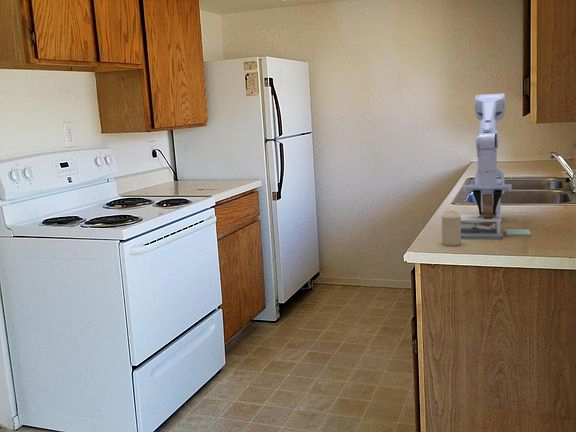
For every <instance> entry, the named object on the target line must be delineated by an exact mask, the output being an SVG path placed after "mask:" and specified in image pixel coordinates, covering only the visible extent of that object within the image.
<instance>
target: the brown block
mask: <svg viewBox="0 0 576 432" xmlns="http://www.w3.org/2000/svg"><path fill="white" fill-rule="evenodd" d="M482 198H483V212H482V214H480V217H484V219H493V217H492V216H497V214H496V212H495V214H493V195H492V194H482ZM483 223H484V225H490V226H494V225H493V223H494V222H483Z"/></svg>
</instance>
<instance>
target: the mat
mask: <svg viewBox="0 0 576 432" xmlns="http://www.w3.org/2000/svg"><path fill="white" fill-rule="evenodd" d="M505 234H506V236H507V237H532V234H531V231H530V229H528V228H527V229H526V228H525V229H522V228H521V229H516V228H515V229H508V228H507V229H505Z"/></svg>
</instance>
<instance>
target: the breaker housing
mask: <svg viewBox="0 0 576 432" xmlns="http://www.w3.org/2000/svg"><path fill="white" fill-rule="evenodd" d="M459 215H460V216H461V222H476V223H484V222H493V223H495V226H490V229H481V228H473V227H464V226H461V240H462V239H463V240H464V239H465V240H467V239H469V240H472V239H473V240H476V239H477V240H480V239H481V240H503V239H504V238H503V236H504V235H503V231H502V226H501V224H502V222H501V220H500V216H501V215H500V216H499V215H497V216H492V217H493V218H495V219H479V218H484V217H480V215H479V214H469V215H468V214H459Z"/></svg>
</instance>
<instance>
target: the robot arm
mask: <svg viewBox="0 0 576 432" xmlns="http://www.w3.org/2000/svg"><path fill="white" fill-rule="evenodd" d="M474 111H475V116H476V119H477V120H479V123H478V130H477V131H478V132H477V133H478V134H477V135H476V136H475V149H476V157H477V171H476V173H475V179H474V184H463V185H462V191H463V193H464V192H465V193H467V192H472V196H473V197H474V200H475V201H476V205H477V209H478V215H480V214H482V212H483V198H482V194H492V195H493V214H495V212H496V214H497V215H499V216H500V220H501V223H502V222H503V220H502V215H501V197H502V195H504V193H505V192H512V189H513V187H512V186H513V185H512V183H511V184H510V183H509V184H508V183H505V174H504V171H502V170H501V169H500V168H499V167H497V165H498V163H497V162H498V161H497V160H498V159H497V158H498V156H497V154H498V153H497V152H498V149H499V133H498V125H499V121H500V120H503V119H504V118H505V115H506V114H505V113H506V94H505V93H504V92H501V93H489V94H488V93H487V94H485V93H484V94H476V95H475V96H474ZM479 219H484V218H479ZM493 219H495V218H493Z"/></svg>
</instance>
